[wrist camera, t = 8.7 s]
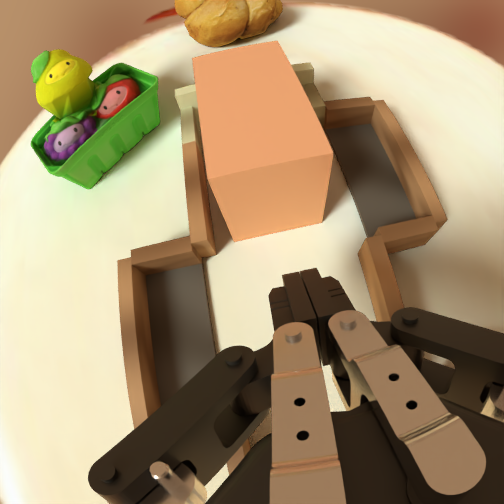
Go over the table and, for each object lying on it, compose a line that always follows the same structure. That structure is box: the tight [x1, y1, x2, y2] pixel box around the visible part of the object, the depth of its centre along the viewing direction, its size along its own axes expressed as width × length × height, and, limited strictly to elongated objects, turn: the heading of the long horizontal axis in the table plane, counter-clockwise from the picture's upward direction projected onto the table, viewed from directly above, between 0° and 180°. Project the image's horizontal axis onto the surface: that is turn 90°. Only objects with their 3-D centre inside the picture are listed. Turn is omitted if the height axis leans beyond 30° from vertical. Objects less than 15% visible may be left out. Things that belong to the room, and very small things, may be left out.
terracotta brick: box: [192, 41, 333, 242], centre depth 20 cm, size 11×6×8 cm, turn 11°
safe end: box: [175, 63, 314, 127], centre depth 24 cm, size 1×11×4 cm, turn 101°
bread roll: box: [175, 0, 283, 47], centre depth 28 cm, size 13×10×8 cm
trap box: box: [118, 83, 447, 475], centre depth 19 cm, size 26×21×2 cm
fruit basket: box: [31, 49, 160, 189], centre depth 21 cm, size 11×9×11 cm
